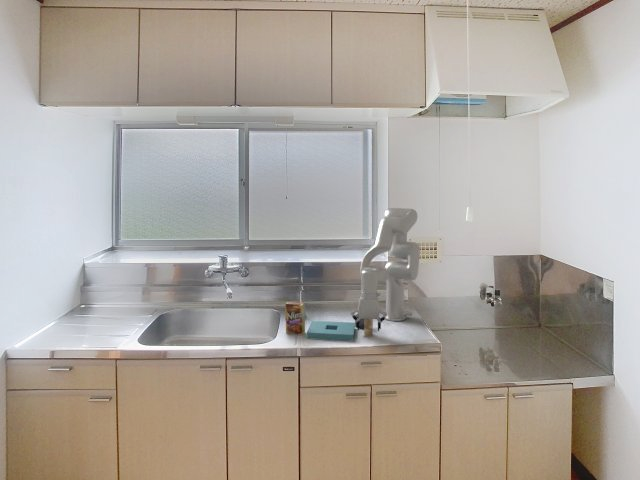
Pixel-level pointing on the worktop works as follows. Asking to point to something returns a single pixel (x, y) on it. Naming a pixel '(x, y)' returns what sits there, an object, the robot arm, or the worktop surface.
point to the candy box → (295, 318)
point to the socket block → (331, 330)
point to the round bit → (360, 322)
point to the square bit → (368, 327)
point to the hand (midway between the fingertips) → (368, 329)
